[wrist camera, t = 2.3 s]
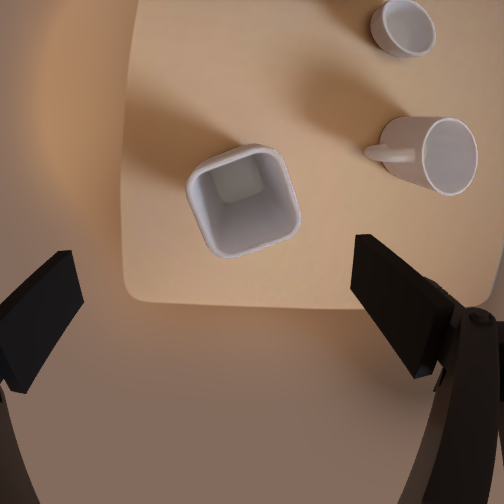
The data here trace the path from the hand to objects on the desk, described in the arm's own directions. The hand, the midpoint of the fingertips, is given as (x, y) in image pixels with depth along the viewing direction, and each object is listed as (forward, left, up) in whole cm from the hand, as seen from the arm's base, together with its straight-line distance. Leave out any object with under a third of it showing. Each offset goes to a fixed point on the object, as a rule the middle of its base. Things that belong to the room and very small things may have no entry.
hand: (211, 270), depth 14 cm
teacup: (+11, +28, -24) cm, 39 cm away
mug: (+18, +14, -24) cm, 33 cm away
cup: (+2, +2, -24) cm, 25 cm away
